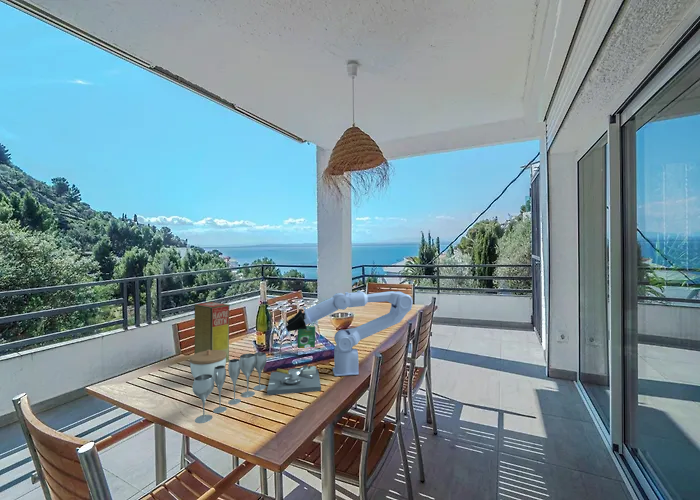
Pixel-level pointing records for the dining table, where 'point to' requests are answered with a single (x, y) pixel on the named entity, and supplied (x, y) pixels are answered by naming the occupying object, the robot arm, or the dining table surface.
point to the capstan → (294, 375)
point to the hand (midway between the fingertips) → (287, 326)
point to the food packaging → (212, 327)
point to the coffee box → (306, 337)
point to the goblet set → (246, 363)
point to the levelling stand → (303, 386)
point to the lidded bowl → (206, 362)
